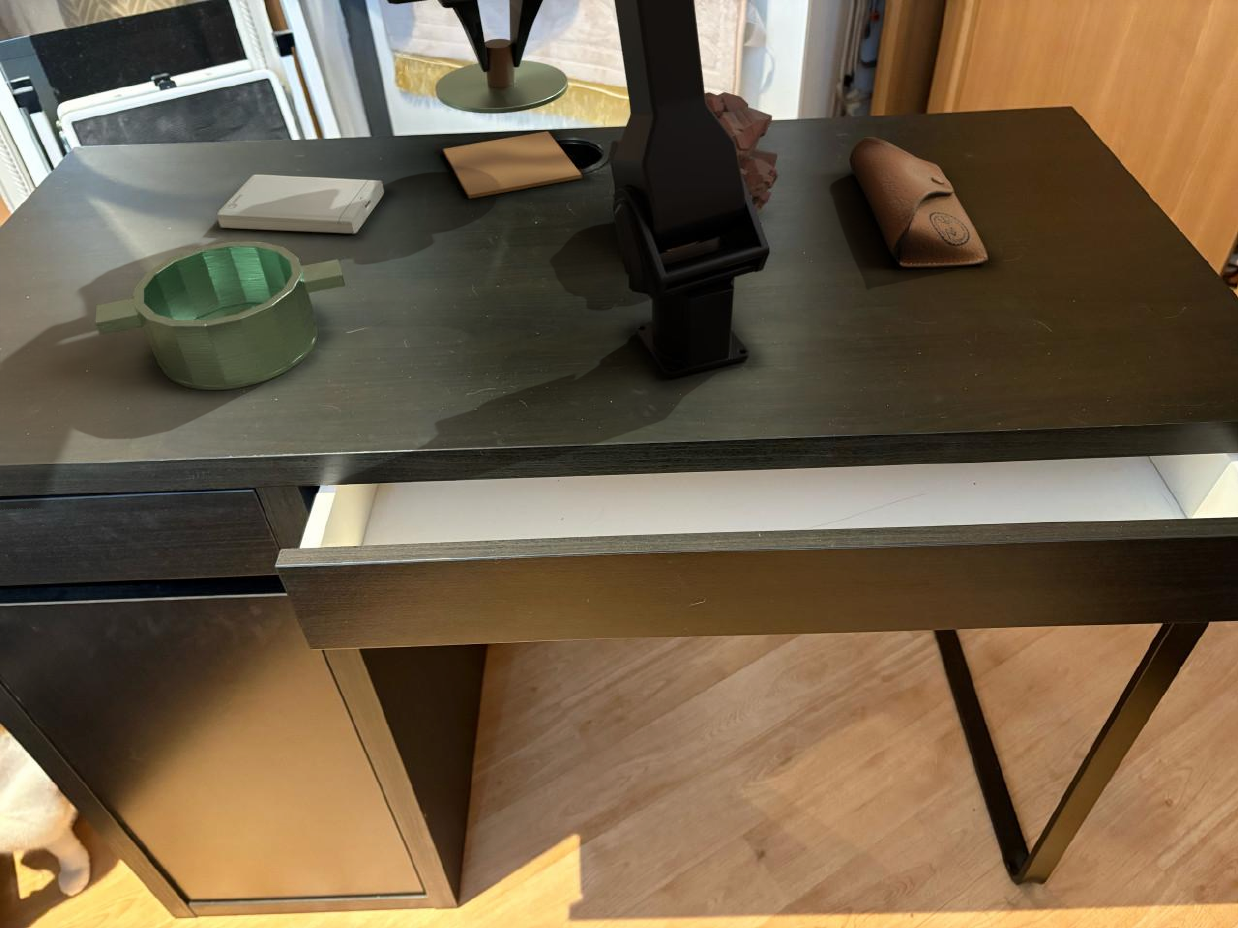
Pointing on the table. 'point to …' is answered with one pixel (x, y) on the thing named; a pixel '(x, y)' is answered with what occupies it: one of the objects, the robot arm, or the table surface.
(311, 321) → the green cooking pot
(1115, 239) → the table surface
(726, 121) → the mineral specimen
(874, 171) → the sunglasses case
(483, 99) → the tin lid
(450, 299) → the table surface
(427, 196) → the table surface
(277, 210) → the hard drive
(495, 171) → the coaster pad
